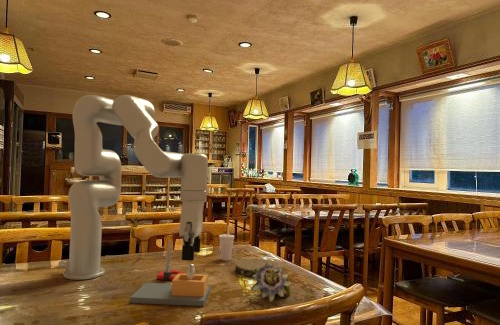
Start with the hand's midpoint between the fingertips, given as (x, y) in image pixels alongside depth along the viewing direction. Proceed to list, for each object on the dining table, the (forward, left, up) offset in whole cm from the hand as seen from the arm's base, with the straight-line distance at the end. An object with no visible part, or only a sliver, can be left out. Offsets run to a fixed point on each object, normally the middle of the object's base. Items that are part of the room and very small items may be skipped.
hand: (191, 255), depth 100 cm
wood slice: (+19, +28, -12) cm, 36 cm away
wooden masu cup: (0, 0, -10) cm, 10 cm away
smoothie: (+6, +43, -12) cm, 45 cm away
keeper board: (-5, 0, -12) cm, 13 cm away
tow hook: (-10, +18, -12) cm, 24 cm away
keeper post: (0, 0, -10) cm, 10 cm away
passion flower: (+23, +4, -12) cm, 26 cm away
